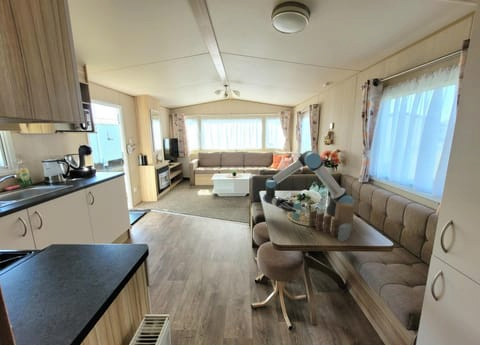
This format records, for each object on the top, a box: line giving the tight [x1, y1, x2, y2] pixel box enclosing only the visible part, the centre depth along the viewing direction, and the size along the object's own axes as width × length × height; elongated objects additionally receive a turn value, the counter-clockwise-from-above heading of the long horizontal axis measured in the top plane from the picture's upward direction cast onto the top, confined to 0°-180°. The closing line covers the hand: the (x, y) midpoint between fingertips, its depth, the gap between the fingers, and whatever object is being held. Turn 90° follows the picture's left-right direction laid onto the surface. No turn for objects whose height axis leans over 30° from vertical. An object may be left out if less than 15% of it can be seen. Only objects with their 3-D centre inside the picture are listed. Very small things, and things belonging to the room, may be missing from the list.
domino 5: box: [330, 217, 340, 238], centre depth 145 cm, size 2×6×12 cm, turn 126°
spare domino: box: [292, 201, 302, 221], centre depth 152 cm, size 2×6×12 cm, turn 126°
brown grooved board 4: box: [322, 214, 333, 234], centre depth 149 cm, size 2×6×12 cm, turn 126°
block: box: [334, 202, 355, 234], centre depth 152 cm, size 10×10×20 cm
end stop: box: [337, 223, 351, 242], centre depth 140 cm, size 9×3×10 cm, turn 126°
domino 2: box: [308, 209, 318, 228], centre depth 159 cm, size 2×6×12 cm, turn 126°
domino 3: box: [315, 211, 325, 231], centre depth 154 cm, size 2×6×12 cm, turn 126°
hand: (303, 211), depth 148 cm, fingers closed on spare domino, 6 cm apart
